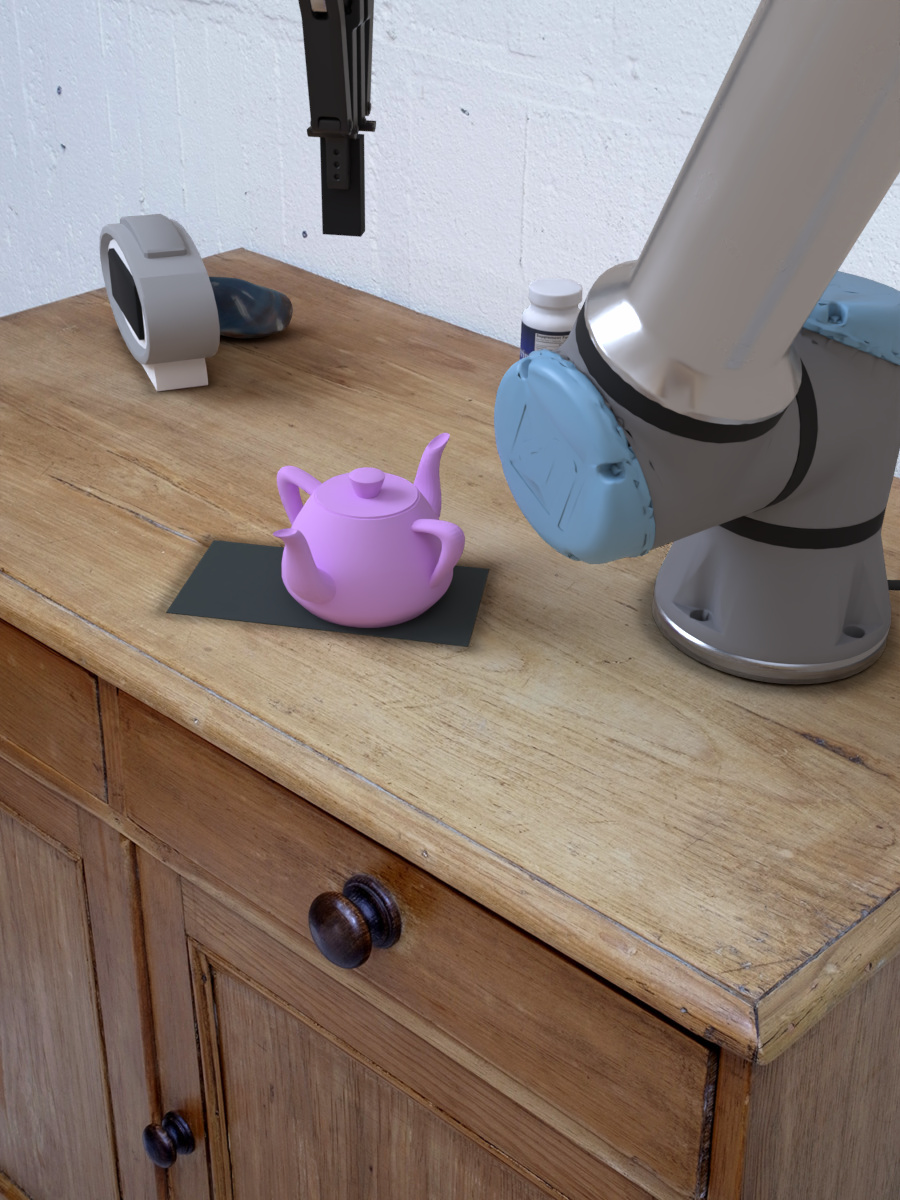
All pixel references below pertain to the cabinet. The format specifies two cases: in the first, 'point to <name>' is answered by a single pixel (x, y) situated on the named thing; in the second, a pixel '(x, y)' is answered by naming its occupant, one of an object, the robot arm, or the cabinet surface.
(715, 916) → the cabinet surface
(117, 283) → the alarm clock
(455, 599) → the mat
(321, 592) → the teapot
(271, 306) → the seashell
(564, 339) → the pill bottle
